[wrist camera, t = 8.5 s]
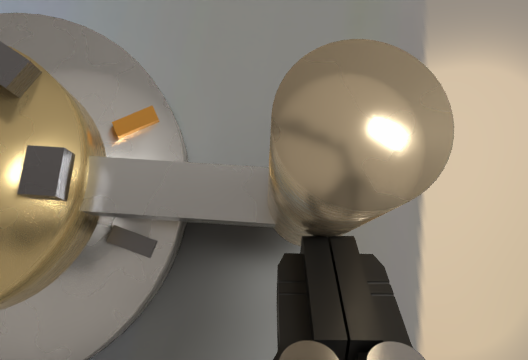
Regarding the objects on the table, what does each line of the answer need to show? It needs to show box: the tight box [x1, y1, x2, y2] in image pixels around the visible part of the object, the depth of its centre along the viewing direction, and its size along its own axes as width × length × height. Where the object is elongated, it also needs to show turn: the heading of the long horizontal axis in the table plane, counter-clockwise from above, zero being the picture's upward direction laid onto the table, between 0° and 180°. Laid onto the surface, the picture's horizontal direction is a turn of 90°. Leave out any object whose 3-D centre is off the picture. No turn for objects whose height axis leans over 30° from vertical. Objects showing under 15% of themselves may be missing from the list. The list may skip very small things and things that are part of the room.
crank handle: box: [0, 39, 454, 310], centre depth 12 cm, size 20×10×9 cm, turn 86°
